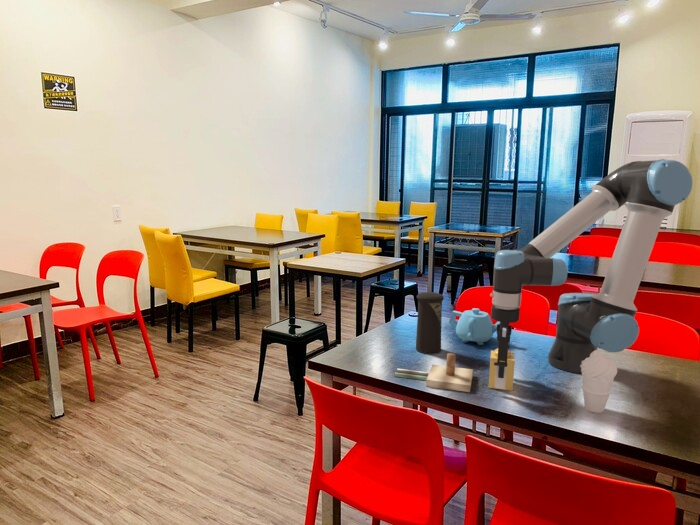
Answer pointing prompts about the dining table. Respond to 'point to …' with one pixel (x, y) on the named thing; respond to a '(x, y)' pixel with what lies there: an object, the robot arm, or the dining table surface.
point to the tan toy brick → (508, 373)
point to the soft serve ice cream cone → (597, 380)
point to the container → (429, 322)
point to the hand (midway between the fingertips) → (500, 378)
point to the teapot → (473, 325)
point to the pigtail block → (442, 376)
